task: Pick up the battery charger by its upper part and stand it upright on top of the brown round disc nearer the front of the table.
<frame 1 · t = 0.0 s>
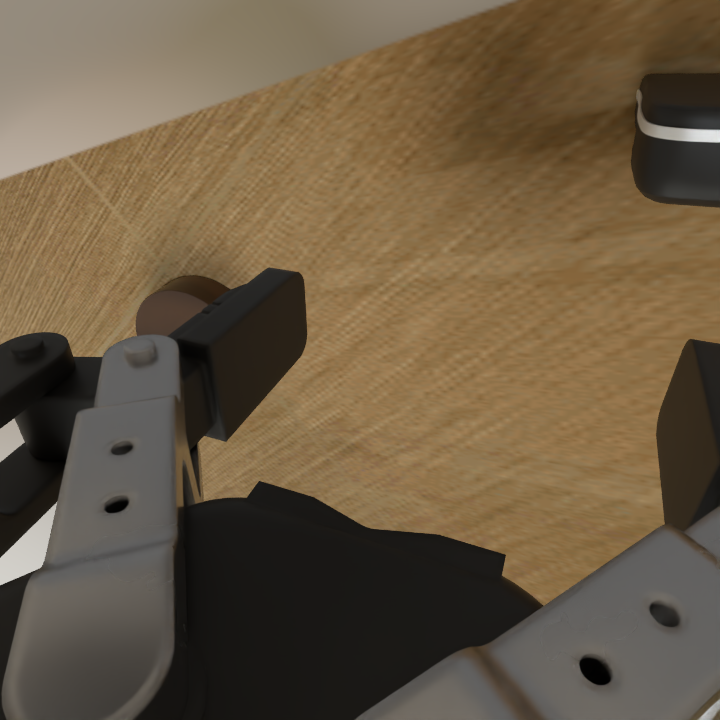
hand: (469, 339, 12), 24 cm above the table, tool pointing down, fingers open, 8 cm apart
brown round disc: (210, 333, 49), on the table
battery charger: (703, 113, 29), on the table
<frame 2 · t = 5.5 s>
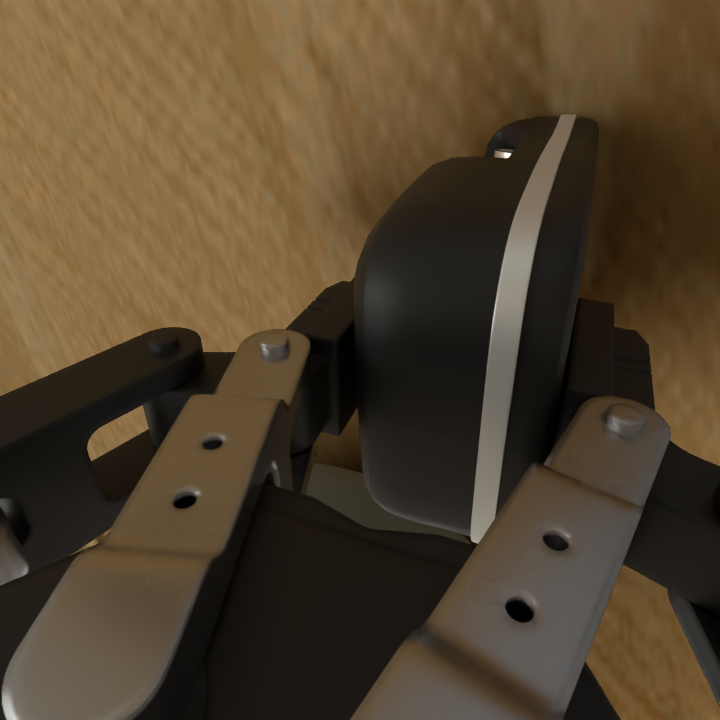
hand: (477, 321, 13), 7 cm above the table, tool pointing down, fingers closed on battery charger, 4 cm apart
battery charger: (521, 219, 18), on the table, touching gripper
bowl: (371, 534, 30), on the table
when the fingers open (10 cm above the table, at t = 14.0 s): battery charger stays where it is, resting on brown round disc.
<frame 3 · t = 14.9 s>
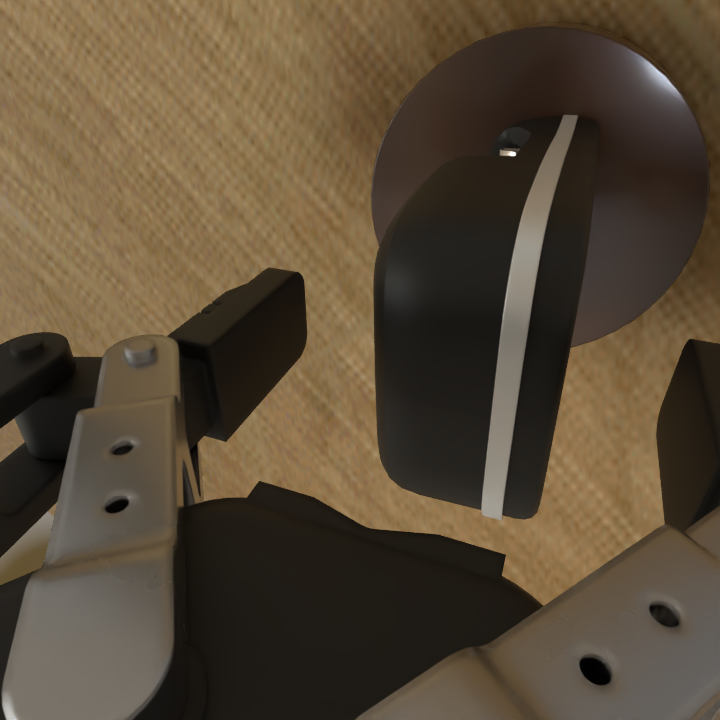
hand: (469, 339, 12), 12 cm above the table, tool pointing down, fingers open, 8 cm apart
brown round disc: (531, 189, 21), on the table, touching battery charger
battery charger: (524, 215, 19), point 3 cm above the table, touching brown round disc
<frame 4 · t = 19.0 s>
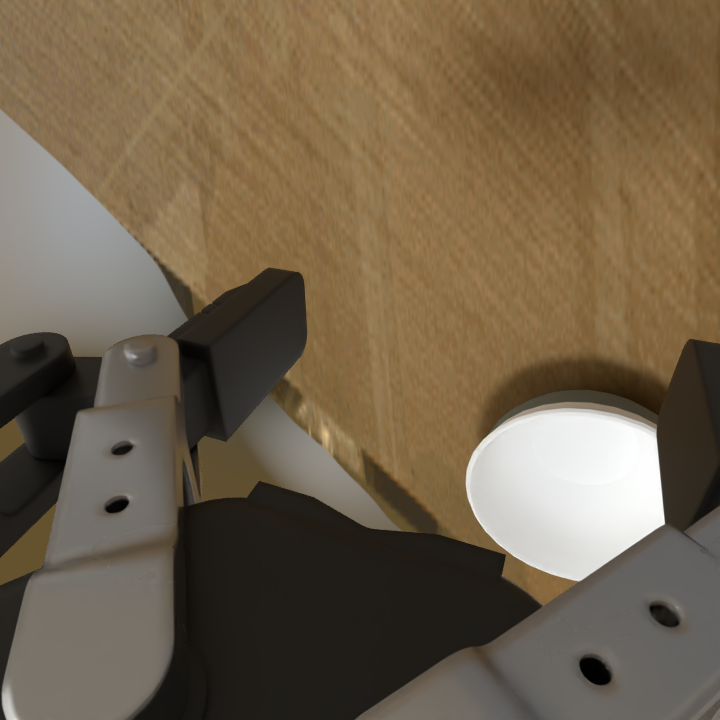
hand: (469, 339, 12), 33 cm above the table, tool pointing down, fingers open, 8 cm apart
bowl: (584, 440, 51), on the table
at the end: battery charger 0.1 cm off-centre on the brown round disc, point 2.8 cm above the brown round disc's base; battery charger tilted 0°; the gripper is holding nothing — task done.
